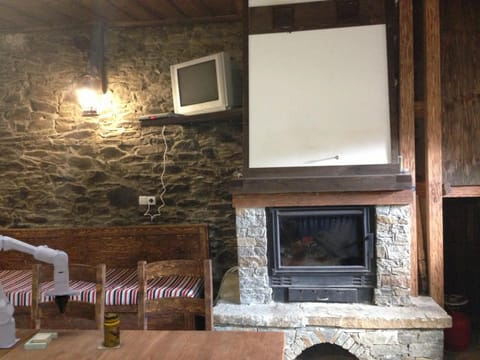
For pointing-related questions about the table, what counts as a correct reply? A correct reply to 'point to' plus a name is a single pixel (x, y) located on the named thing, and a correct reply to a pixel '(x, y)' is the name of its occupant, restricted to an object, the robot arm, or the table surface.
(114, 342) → the condiment
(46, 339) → the cream square block
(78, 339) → the table surface
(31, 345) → the box
